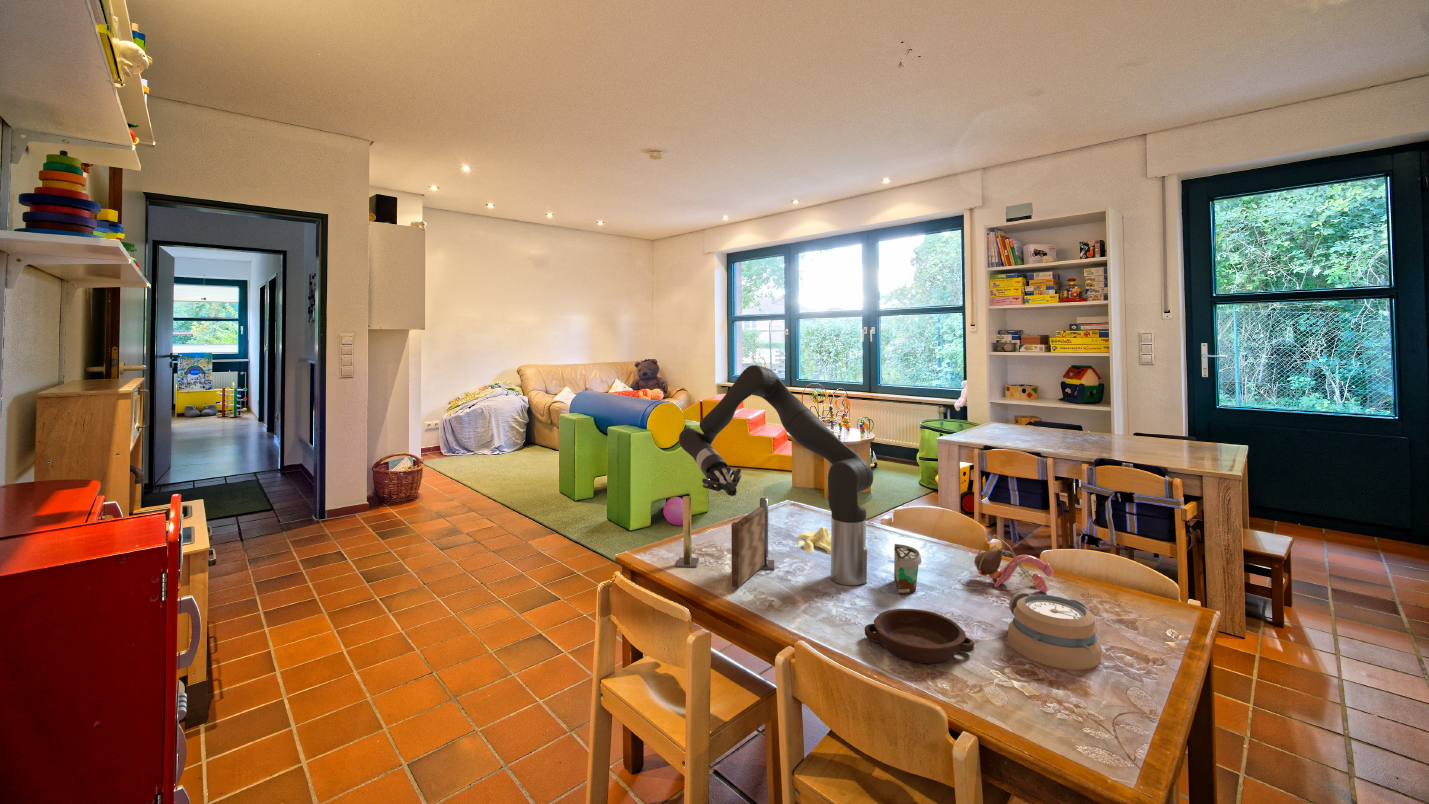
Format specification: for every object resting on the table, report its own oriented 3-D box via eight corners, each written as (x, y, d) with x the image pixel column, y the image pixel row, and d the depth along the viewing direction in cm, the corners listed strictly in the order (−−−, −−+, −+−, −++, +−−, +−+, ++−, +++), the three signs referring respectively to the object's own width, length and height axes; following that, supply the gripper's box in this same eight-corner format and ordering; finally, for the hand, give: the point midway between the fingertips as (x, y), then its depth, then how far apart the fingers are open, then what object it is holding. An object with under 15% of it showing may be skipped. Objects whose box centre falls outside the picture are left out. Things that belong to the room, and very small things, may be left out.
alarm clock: (1013, 617, 116) (1004, 574, 138) (1011, 660, 117) (1002, 611, 139) (1113, 632, 110) (1087, 585, 131) (1110, 678, 111) (1085, 624, 132)
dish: (980, 679, 111) (981, 654, 111) (863, 662, 117) (863, 639, 117) (967, 635, 128) (968, 613, 127) (865, 622, 134) (865, 602, 133)
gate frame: (774, 561, 171) (774, 496, 169) (774, 569, 165) (774, 501, 163) (679, 559, 174) (678, 494, 172) (676, 566, 168) (675, 499, 166)
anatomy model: (1066, 586, 144) (1017, 532, 147) (1013, 617, 149) (967, 565, 152) (1058, 570, 154) (1013, 520, 157) (1009, 599, 159) (967, 551, 162)
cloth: (801, 532, 199) (801, 515, 199) (856, 539, 192) (856, 521, 191) (781, 553, 179) (781, 534, 178) (841, 562, 171) (841, 542, 171)
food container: (924, 599, 145) (925, 561, 144) (898, 597, 146) (899, 559, 145) (917, 580, 157) (918, 544, 156) (893, 578, 158) (894, 543, 157)
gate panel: (758, 563, 167) (758, 505, 166) (765, 564, 166) (765, 506, 165) (731, 586, 151) (731, 523, 150) (738, 587, 150) (738, 524, 149)
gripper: (690, 459, 175) (710, 488, 160) (730, 448, 178) (753, 475, 164) (692, 480, 178) (713, 510, 163) (732, 468, 182) (755, 497, 167)
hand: (733, 493), depth 163 cm, fingers closed
